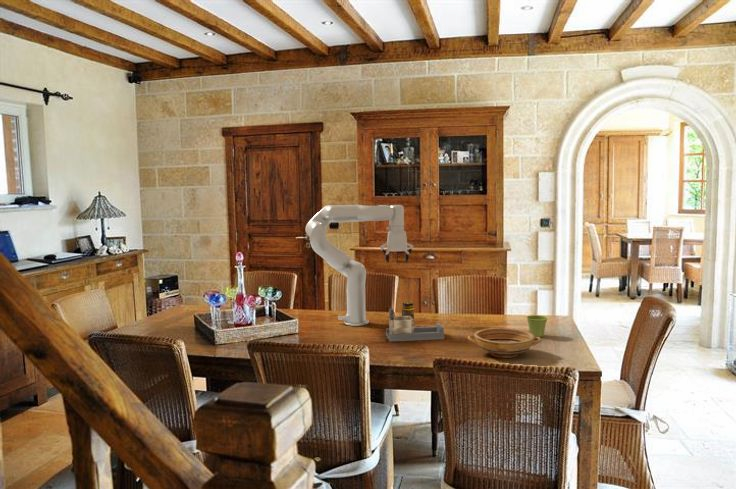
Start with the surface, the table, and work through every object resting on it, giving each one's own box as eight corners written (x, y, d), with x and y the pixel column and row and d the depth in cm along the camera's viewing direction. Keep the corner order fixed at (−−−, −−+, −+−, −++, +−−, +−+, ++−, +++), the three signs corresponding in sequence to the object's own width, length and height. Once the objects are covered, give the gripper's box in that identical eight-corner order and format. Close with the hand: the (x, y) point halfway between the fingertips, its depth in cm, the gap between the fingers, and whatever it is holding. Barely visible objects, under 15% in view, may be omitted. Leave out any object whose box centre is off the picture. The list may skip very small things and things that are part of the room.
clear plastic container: (391, 338, 261) (391, 311, 260) (388, 333, 270) (388, 307, 269) (413, 337, 262) (413, 310, 261) (410, 332, 271) (410, 306, 270)
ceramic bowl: (467, 361, 229) (467, 341, 228) (467, 344, 253) (467, 326, 252) (545, 363, 224) (545, 343, 223) (537, 346, 248) (537, 328, 247)
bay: (389, 341, 260) (389, 330, 259) (386, 334, 272) (385, 324, 271) (444, 339, 262) (444, 328, 262) (438, 332, 274) (438, 322, 274)
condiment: (417, 327, 286) (417, 303, 285) (404, 329, 281) (403, 305, 280) (408, 324, 292) (408, 300, 291) (395, 326, 287) (394, 302, 286)
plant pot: (546, 339, 259) (547, 320, 259) (525, 337, 263) (525, 319, 262) (548, 334, 268) (548, 315, 267) (527, 332, 271) (527, 314, 271)
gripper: (380, 229, 293) (381, 263, 295) (414, 229, 295) (414, 262, 296) (379, 228, 300) (379, 261, 302) (412, 228, 302) (412, 260, 304)
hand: (397, 262), depth 299 cm, fingers open, 9 cm apart
